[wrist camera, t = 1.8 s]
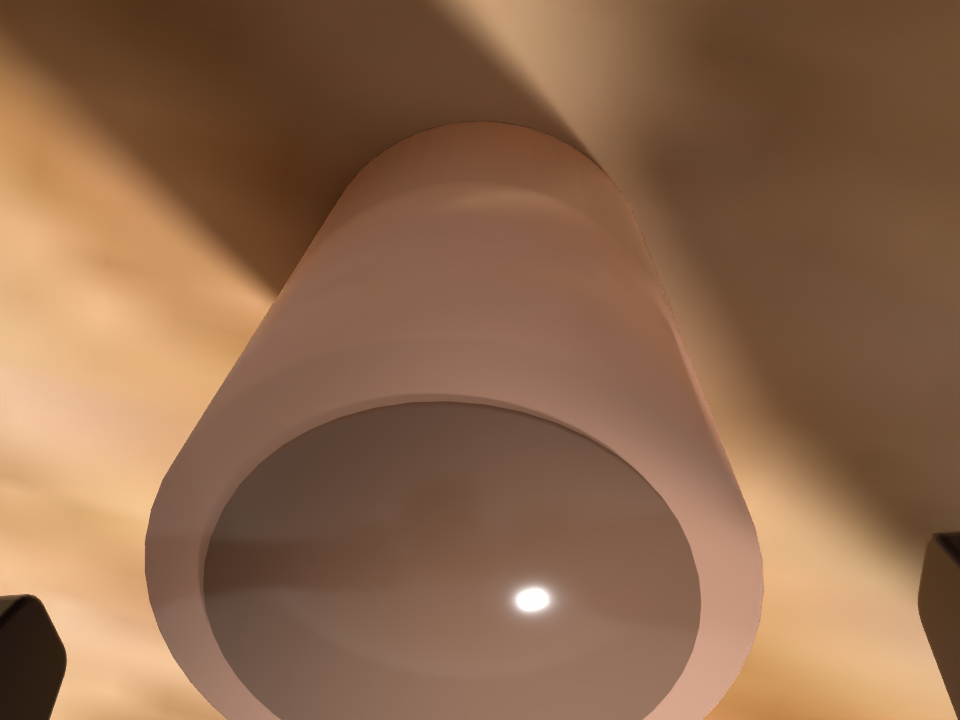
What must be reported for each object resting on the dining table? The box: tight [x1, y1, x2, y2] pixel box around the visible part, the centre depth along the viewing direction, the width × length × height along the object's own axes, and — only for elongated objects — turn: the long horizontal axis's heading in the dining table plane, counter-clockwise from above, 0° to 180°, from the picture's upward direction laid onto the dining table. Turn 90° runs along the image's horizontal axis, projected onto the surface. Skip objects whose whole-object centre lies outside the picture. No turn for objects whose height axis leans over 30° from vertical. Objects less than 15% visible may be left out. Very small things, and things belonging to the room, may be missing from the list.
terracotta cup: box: [145, 121, 764, 720], centre depth 12 cm, size 6×6×8 cm
